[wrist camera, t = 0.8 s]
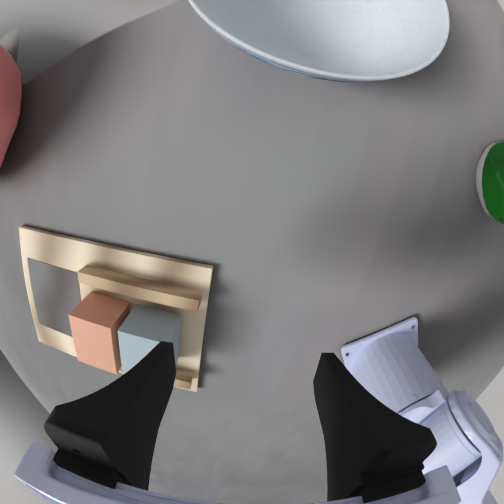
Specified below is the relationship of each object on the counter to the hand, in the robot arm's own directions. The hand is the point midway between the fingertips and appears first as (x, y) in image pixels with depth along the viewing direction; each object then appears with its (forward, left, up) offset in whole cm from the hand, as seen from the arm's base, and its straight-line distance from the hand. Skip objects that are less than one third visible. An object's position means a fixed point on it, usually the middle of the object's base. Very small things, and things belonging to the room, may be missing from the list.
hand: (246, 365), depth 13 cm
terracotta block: (+1, +13, -9) cm, 16 cm away
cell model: (+25, +19, -10) cm, 33 cm away
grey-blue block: (-2, +9, -9) cm, 13 cm away
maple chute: (+1, +14, -10) cm, 17 cm away
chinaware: (+18, -11, -10) cm, 23 cm away
